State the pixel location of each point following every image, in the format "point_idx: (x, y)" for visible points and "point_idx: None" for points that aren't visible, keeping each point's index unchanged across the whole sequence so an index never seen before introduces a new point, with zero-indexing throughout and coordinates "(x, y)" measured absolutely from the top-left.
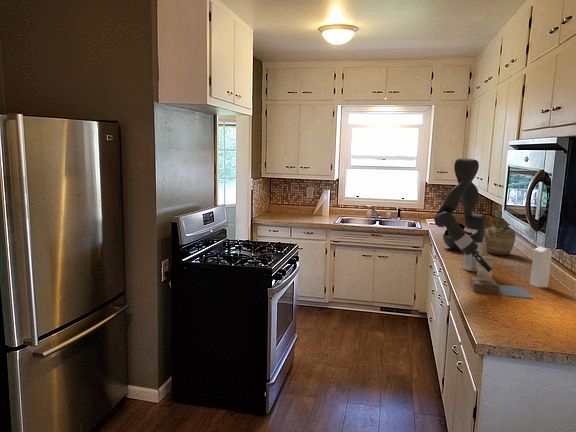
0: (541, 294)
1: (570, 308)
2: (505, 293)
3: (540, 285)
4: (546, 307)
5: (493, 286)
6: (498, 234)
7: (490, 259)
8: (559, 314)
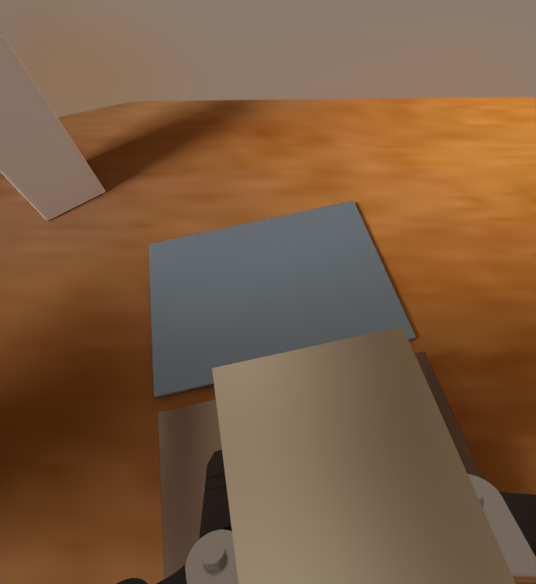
0: (235, 177)
1: (391, 100)
2: (365, 325)
3: (95, 175)
4: (460, 159)
5: (441, 396)
6: None
7: (428, 397)
8: (527, 123)
